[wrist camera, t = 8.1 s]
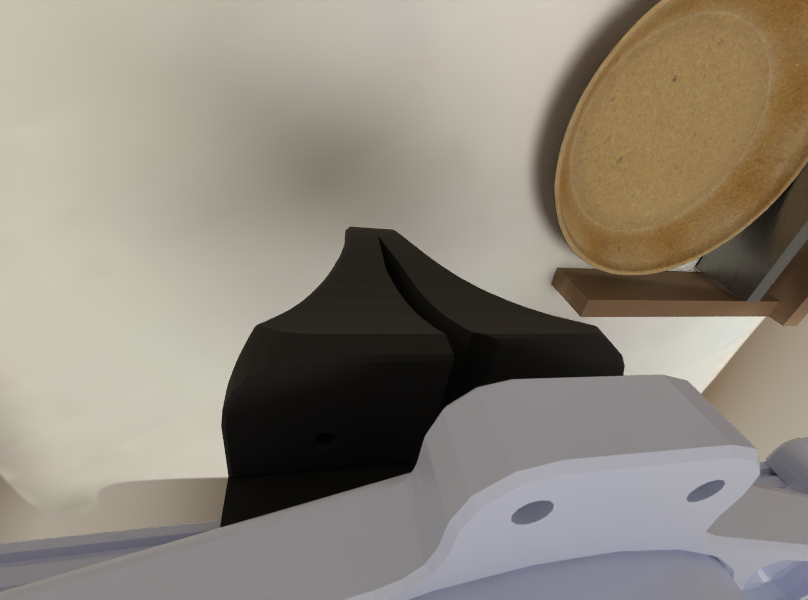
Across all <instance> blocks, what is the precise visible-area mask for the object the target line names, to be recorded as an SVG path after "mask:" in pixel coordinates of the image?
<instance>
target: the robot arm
mask: <svg viewBox="0 0 808 600" xmlns="http://www.w3.org/2000/svg"><path fill="white" fill-rule="evenodd" d="M624 367H625V366H624V362H623V358H622V355H621V354H620V352H619V351H618V350H617V349H616V348H615V347H614V346H613V344H612V343H611V342H610V341H609V340H608V339H607V338H606V336H605V335H604V334H603V333H602V332H601V331H600V330H599V328H598V327H596V326H593V325H589V324H585V323H581V322H577V321H573V320H568V319H564V318H560V317H556V316H552V315H548V314H545V313H542V312H539V311H536V310H533V309H529V308H526V307H524V306H521V305H518V304H515V303H512V302H510V301H507V300H505V299H503V298H500V297H498V296H496V295H493V294H491V293H489V292H486V291H484V290H482V289H480V288H478V287H476V286H474V285H473V284H471V283H469V282H467V281H465V280H463V279H461V278H460V277H458V276H456V275H455V274H453V273H452V272H450V271H449V270H447V269H446V268H444V267H443V266H441V265H440V264H438V263H437V262H435V261H434V260H432V259H431V258H430V257H428V256H427V255H426V254H424V253H423V252H422V251H421V250H419V249H418V248H417V247H415V246H414V245H413V244H412V243H410V242H409V241H408V240H407V239H405V238H404V237H403V236H402V235H400V234H399V233H397V232H396V231H394V230H390V229H375V228H360V227H349V228H348V229H347V230H346V233H345V245H344V248H343V250H342V253H341V255H340V257H339V259H338V260H337V262H336V264H335V266H334V267H333V269H332V270H331V272H330V273H329V275H328V276H327V277H326V278H325V280H324V281H323V282H322V283H321V284H320V285H319V286H318V287H317V288H316V289H315V290H314V291H313V292H312V293H311V294H310V295H309V296H308V297H307V298H306V299H305V300H303V301H302V302H301V303H299V304H298V305H296V306H295V307H293V308H292V309H290V310H288V311H286V312H285V313H283V314H280V315H278V316H276V317H274V318H272V319H270V320H268V321H265V322H263V323H261V324H258V325H257V326H256V327H255V328H254V329H253V331H252V333H251V334H250V336H249V338H248V340H247V342H246V344H245V345H244V347H243V349H242V351H241V353H240V355H239V357H238V360H237V362H236V364H235V367H234V369H233V372H232V375H231V377H230V380H229V383H228V387H227V391H226V396H225V401H224V405H223V411H222V424H221V426H222V433H223V440H224V447H225V454H226V461H227V468H228V475H229V477H228V483H227V489H226V495H225V501H224V507H223V513H222V519H221V520H215V521H206V522H196V523H188V524H178V525H168V526H159V527H150V528H141V529H131V530H121V531H112V532H103V533H94V534H84V535H76V536H75V535H74V536H66V537H56V538H46V539H37V540H28V541H19V542H9V543H0V600H808V437H807V438H797V439H792V440H789V441H787V442H785V443H783V444H782V445H780V446H779V447H777V448H776V449H775V450H774V451H773V452H772V453H771V454H770V455H769V456H768V457H767V458H766V461H765V462H760V460H759V455H758V451H757V448H756V447H755V446H754V445H753V444H752V443H751V442H750V441H749V440H747V438H746V437H745V436H744V435H742V434H741V433H740V432H739V431H738V430H737V429H736V428H735V427H734V426H733V425H732V424H731V423H730V422H729V421H728V420H727V419H726V418H725V417H724V416H723V415H722V414H721V413H720V412H719V411H718V410H717V409H716V408H715V407H714V406H713V405H712V404H711V403H710V402H709V401H708V400H707V399H706V398H705V397H704V396H703V395H702V394H700V393H699V392H698V391H697V390H696V389H695V388H694V387H693V386H692V385H691V384H690V383H689V382H688V381H686V380H682V379H678V378H674V377H670V376H666V375H631V376H623V373H624Z"/></svg>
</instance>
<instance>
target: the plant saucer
mask: <svg viewBox="0 0 808 600" xmlns="http://www.w3.org/2000/svg"><path fill="white" fill-rule="evenodd" d="M807 162H808V0H661V1H659V2H658V3H657V4H656V5H655V6H653V7H652V8H651V9H650V10H649V11H648V12H647V13H646V14H644V15H643V16H642V17H641V18H640V19H639V20H638V21H637V22H636V23H635V24H634V25H633V26H632V27H631V29H630V30H629V31H628V32H627V33H626V34H625V35H624V36H623V37H622V39H621V40H620V41H619V42H618V43H617V44H616V46H615V47H614V48H613V49H612V50H611V52H610V53H609V54H608V56H607V57H606V58H605V60H604V61H603V62H602V64H601V65H600V66H599V68H598V69H597V71H596V72H595V74H594V75H593V77H592V78H591V80H590V81H589V83H588V85H587V86H586V88H585V90H584V92H583V93H582V95H581V97H580V99H579V101H578V103H577V105H576V107H575V109H574V111H573V113H572V116H571V118H570V121H569V123H568V126H567V129H566V131H565V134H564V138H563V141H562V145H561V148H560V152H559V157H558V161H557V167H556V174H555V186H554V196H555V207H556V213H557V218H558V222H559V225H560V228H561V231H562V233H563V236H564V238H565V240H566V241H567V243H568V245H569V246H570V248H571V249H572V250H573V252H574V253H575V254H577V255H578V256H579V257H580V258H581V259H582V260H584V261H585V262H586V263H587V264H589V265H591V266H593V267H595V268H597V269H599V270H602V271H605V272H608V273H612V274H618V275H646V274H653V273H658V272H662V271H666V270H669V269H673V268H676V267H678V266H681V265H684V264H686V263H689V262H691V261H693V260H695V259H698V258H700V257H702V256H703V255H705V254H708V253H709V252H711V251H713V250H714V249H716V248H718V247H719V246H720V245H722V244H724V243H726V242H727V241H729V240H730V239H732V238H733V237H735V236H736V235H737V234H739V233H740V232H741V231H742V230H744V229H745V228H746V227H747V226H749V225H750V224H751V223H752V222H753V221H755V220H756V219H757V218H758V217H759V216H760V215H761V214H762V213H763V212H765V211H766V210H767V209H768V208H769V207H770V206H771V205H772V204H773V203H774V202H775V201H776V200H777V199H778V197H779V196H780V195H781V194H782V193H783V192H784V191H785V190H786V189H787V187H788V186H789V185H790V184H791V183H792V182H793V181H794V179H795V178H796V177H797V176H798V174H799V173H800V171H801V170H802V169H803V168H804V166H805V165H806V163H807Z"/></svg>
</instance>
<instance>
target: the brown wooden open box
mask: <svg viewBox="0 0 808 600" xmlns="http://www.w3.org/2000/svg"><path fill="white" fill-rule="evenodd" d="M552 285H553V286H554V287H555V289H556V290H557V291H558V292H559V293H560V294H561V295H562V296H563V298H564V299H565V300H566V301H567V302H568V303H569V304H570V305H571V307H572V308H573V309H574V310H575V311H576V312H577V313H578V314H579V316H580V317H696V316H769V317H771V318H772V319H774V320H775V321H777V322H778V323H780V324H781V325H783V326H790V325H791V326H796V325H798V323H799V322H800V321H801V320H802V319H803V318H804V317H805V316H806V314H807V313H808V239H807V240H806V242H805V243H804V244H803V246H802V247H801V248H800V249H799V251H798V252H797V253H796V255H795V256H794V257H793V258H792V260H791V261H790V262H789V264H788V265H787V266H786V267H785V269H784V270H783V271H782V273H781V274H780V275H779V276H778V278H777V279H776V280H775V282H774V283H773V284H772V285H771V287H770V288H769V289H768V291H767V292H766V293H765V294H764V296H763V297H762V298H761V300H760V301H759V302H746V301H745V300H743V299H742V298H740V297H739V296H737V295H736V294H734V293H733V292H731V291H730V290H728V289H727V288H725V287H724V286H722V285H721V284H719V283H718V282H716V281H715V280H713V279H712V278H710V277H709V276H707V275H706V274H704V273H703V272H671V271H662V272H658V273H653V274H646V275H618V274H612V273H608V272H605V271H602V270H599V269H572V268H558V269H557V272H556V274H555V277H554V279H553V281H552Z"/></svg>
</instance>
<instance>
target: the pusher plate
mask: <svg viewBox="0 0 808 600" xmlns="http://www.w3.org/2000/svg"><path fill="white" fill-rule="evenodd" d="M807 239H808V162H807V163H806V165H805V166H804V168H803V169H802V170H801V171H800V173H799V174H798V176H797V177H796V178H795V179H794V181H793V182H792V183H791V184H790V185H789V186H788V187H787V189H786V190H785V191H784V192H783V193H782V194H781V195H780V196H779V197H778V199H777V200H776V201H775V202H774V203H773V204H772V205H771V206H770V207H769V208H768V209H767V210H766V211H765V212H763V213H762V214H761V215H760V216H759V217H758V218H757V219H756V220H755V221H753V222H752V223H751V224H750V225H749V226H747V227H746V228H745V229H744V230H742V231H741V232H740V233H739V234H737V235H736V236H735V237H733V238H732V239H730V240H729V241H727V242H726V243H724V244H722V245H720V246H719V247H718V248H716V249H714V250H713V251H711V252H709V253H708V254H705V255H704V256H703V257H702V259H701V261H700V262H699V264H698V265H697V267H696V268H697V269H698V270H700V271H701V272H703V273H704V274H706V275H707V276H709V277H710V278H712V279H713V280H715V281H716V282H718V283H719V284H721V285H722V286H724V287H725V288H727V289H728V290H730V291H731V292H733V293H734V294H736V295H737V296H739V297H740V298H742V299H743V300H745V301H746V302H759V301H760V300H761V298H762V297H763V296H764V294H765V293H766V292H767V291H768V289H769V288H770V287H771V285H772V284H773V283H774V282H775V280H776V279H777V278H778V276H779V275H780V274H781V273H782V271H783V270H784V269H785V267H786V266H787V265H788V264H789V262H790V261H791V260H792V258H793V257H794V256H795V255H796V253H797V252H798V251H799V249H800V248H801V247H802V246H803V244H804V243H805V242H806V240H807Z"/></svg>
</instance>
